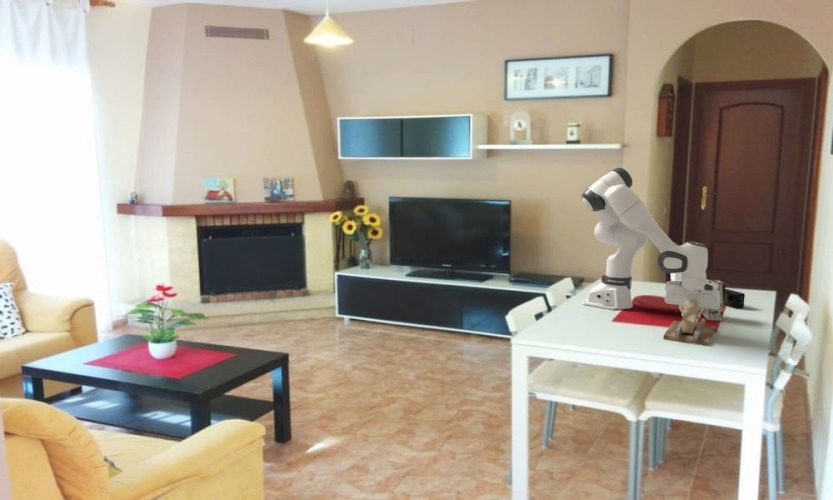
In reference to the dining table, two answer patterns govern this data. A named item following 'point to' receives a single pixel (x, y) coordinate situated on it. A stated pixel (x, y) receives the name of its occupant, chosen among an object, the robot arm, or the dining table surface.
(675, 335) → the track base
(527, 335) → the dining table surface
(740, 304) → the digital camera
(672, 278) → the cup
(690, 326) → the door panel
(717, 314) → the coffee box
